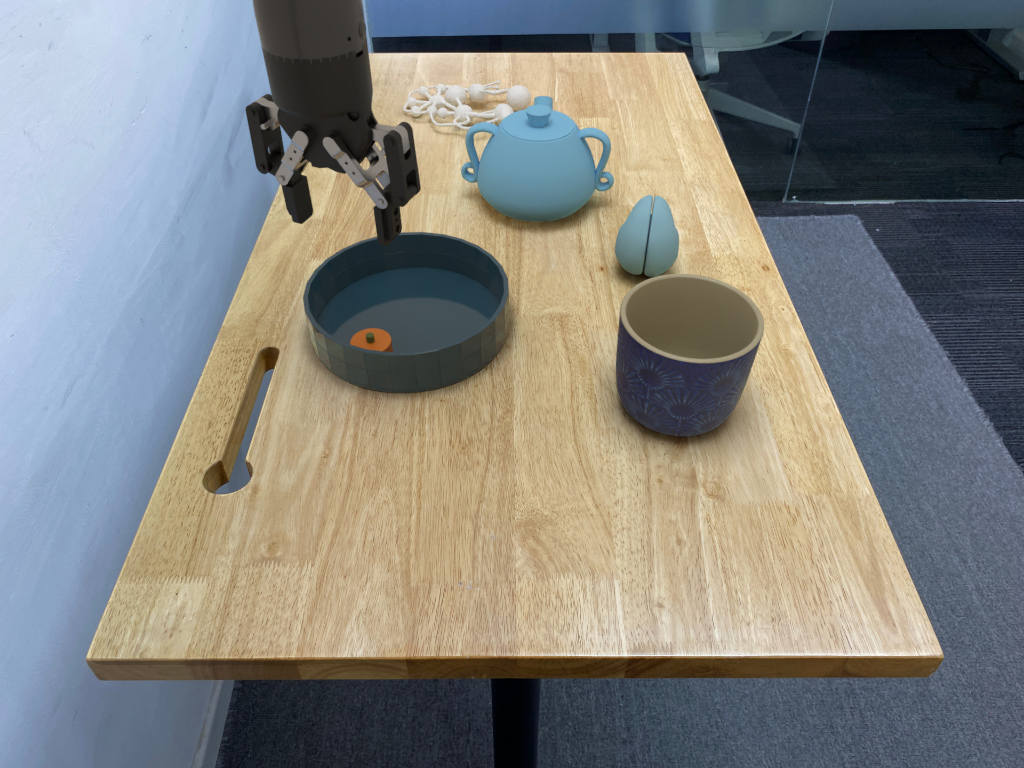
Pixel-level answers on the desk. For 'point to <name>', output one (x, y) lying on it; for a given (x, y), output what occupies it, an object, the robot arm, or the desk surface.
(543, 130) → the blue sugar bowl
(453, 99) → the tangled rod sculpture
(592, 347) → the desk surface
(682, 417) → the planter
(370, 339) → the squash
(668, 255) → the toy flower bud
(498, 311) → the bowl
